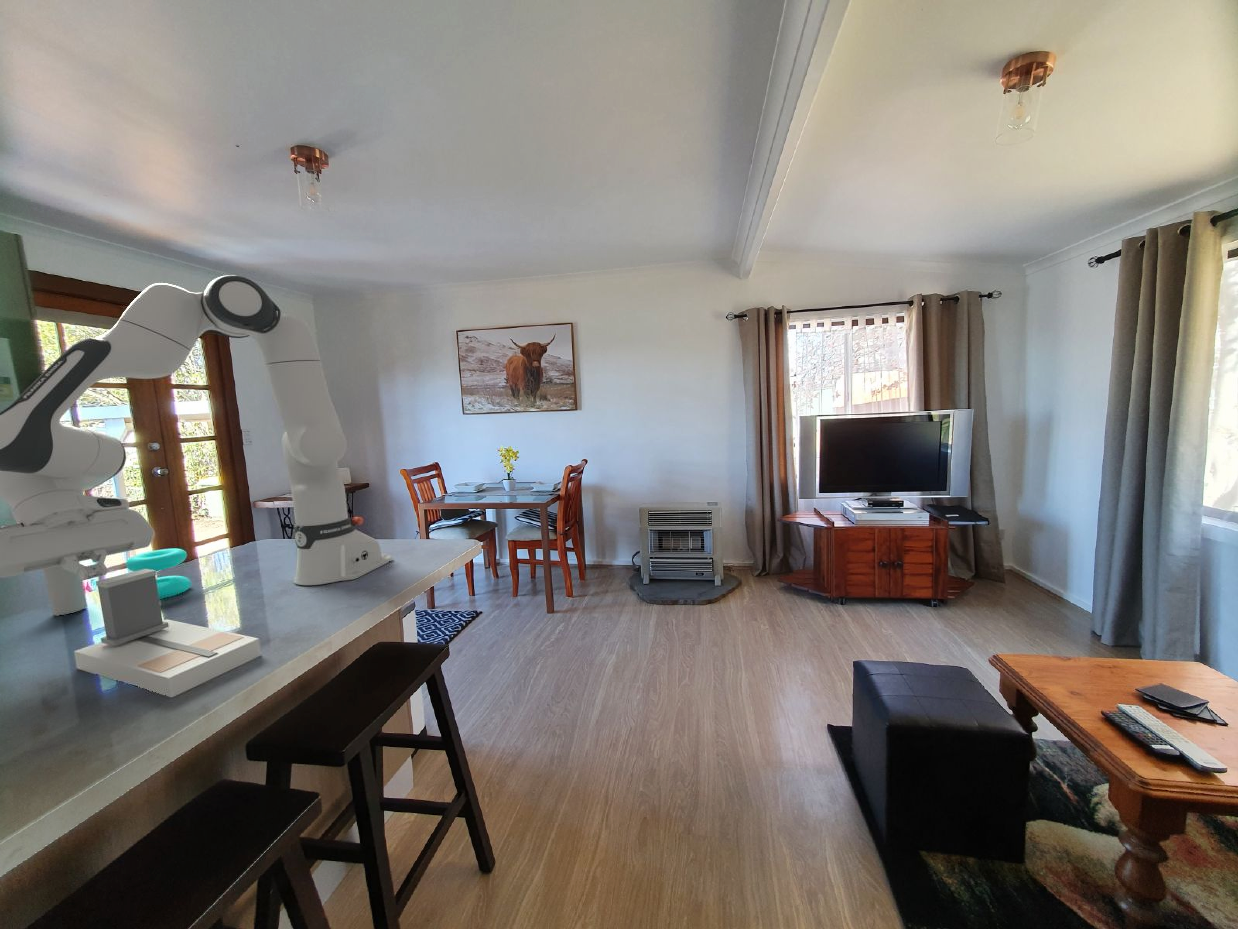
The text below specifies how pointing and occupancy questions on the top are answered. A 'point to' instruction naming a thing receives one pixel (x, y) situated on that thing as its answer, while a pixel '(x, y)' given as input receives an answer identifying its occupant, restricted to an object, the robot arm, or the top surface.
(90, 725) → the top surface
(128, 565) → the donuts
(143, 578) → the fader knob
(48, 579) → the beverage can
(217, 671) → the fader console
